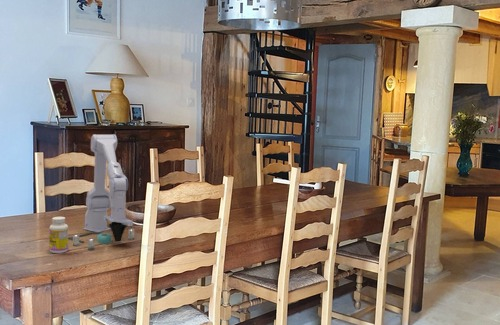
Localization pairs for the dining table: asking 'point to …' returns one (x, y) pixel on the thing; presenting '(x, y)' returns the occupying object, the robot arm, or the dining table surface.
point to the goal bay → (84, 235)
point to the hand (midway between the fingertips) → (118, 241)
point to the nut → (104, 238)
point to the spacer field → (92, 241)
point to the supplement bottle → (58, 235)
